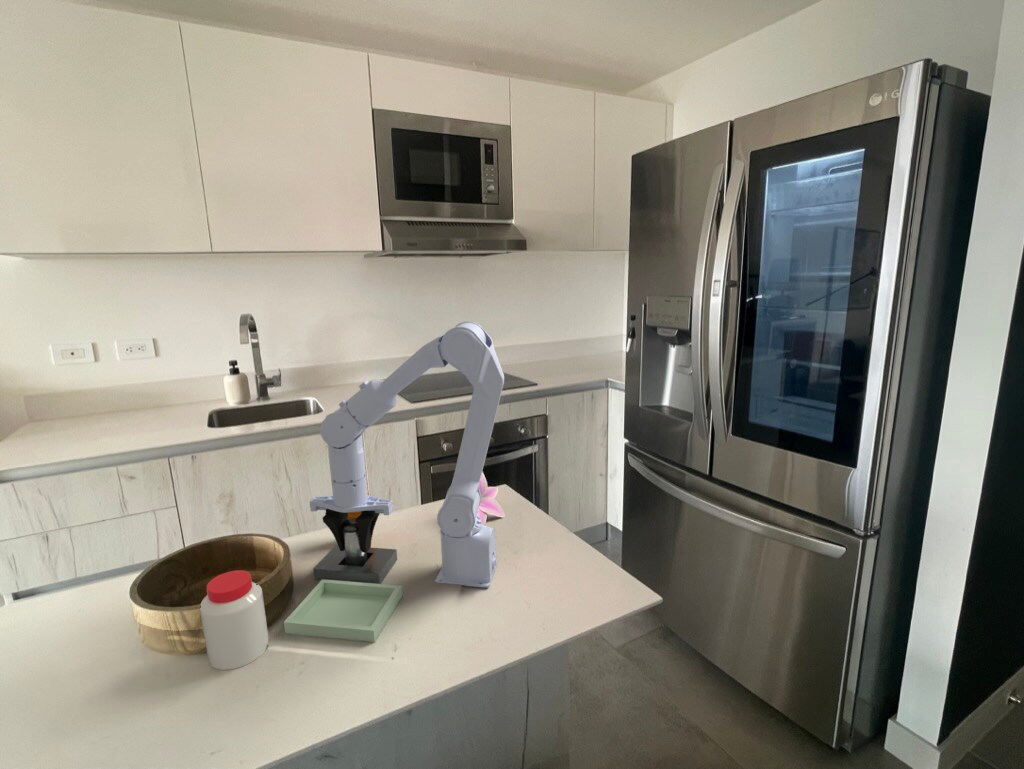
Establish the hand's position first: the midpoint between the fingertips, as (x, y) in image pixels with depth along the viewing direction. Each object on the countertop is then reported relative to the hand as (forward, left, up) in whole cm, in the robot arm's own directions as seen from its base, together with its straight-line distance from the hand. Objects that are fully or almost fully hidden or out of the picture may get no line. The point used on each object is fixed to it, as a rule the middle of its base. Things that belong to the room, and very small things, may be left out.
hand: (355, 548), depth 93 cm
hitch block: (0, 0, -5) cm, 5 cm away
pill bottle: (+8, +21, -5) cm, 23 cm away
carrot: (+4, -10, -5) cm, 12 cm away
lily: (-17, -23, -5) cm, 29 cm away
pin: (0, 0, -3) cm, 3 cm away
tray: (-4, +12, -5) cm, 13 cm away
